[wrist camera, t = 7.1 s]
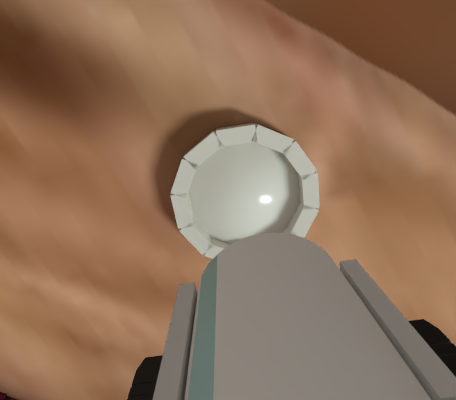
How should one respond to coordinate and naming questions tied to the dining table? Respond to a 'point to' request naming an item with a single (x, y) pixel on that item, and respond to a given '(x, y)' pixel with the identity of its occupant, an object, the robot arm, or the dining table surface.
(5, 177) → the dining table surface
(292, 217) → the saucer
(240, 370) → the can
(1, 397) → the decorative book
